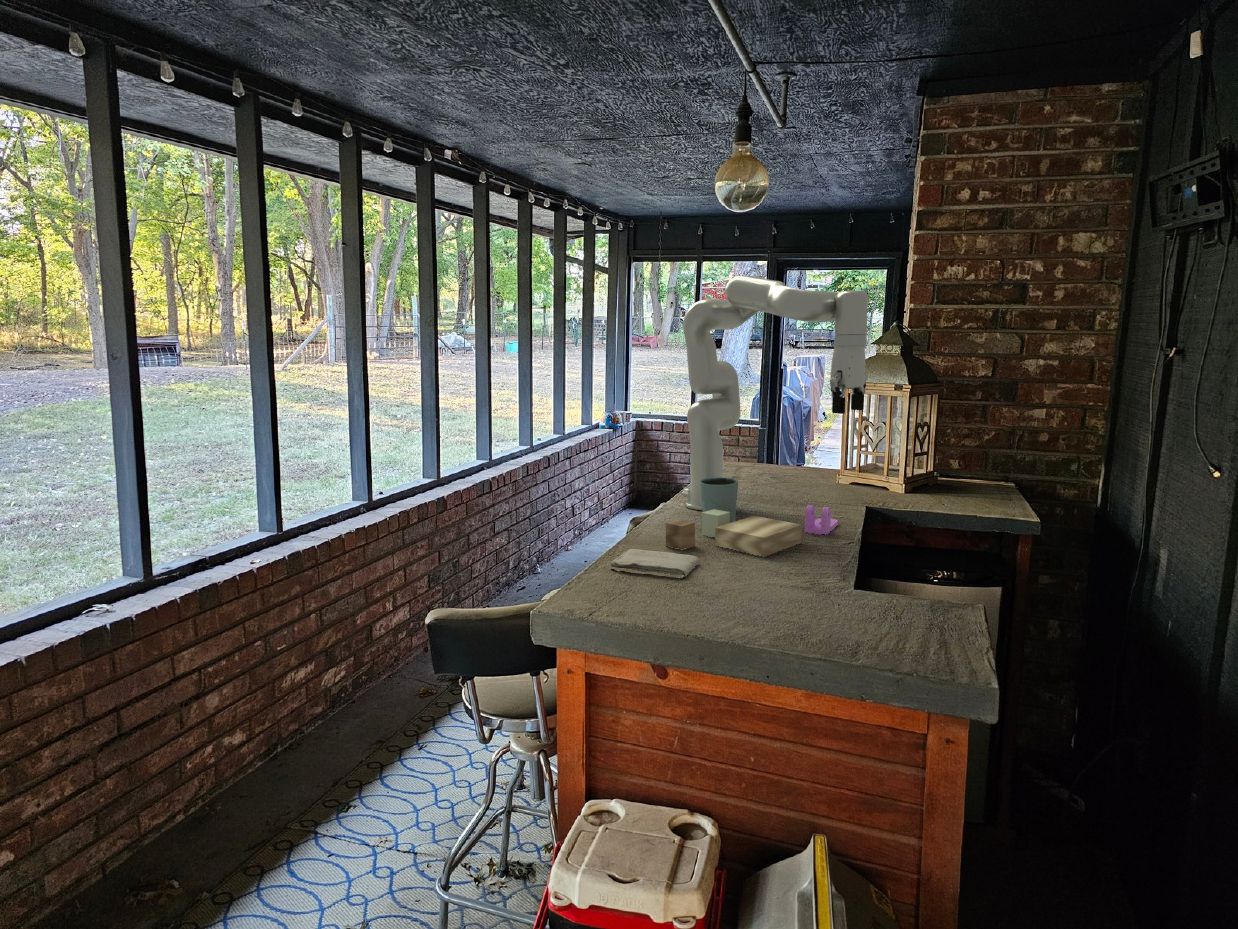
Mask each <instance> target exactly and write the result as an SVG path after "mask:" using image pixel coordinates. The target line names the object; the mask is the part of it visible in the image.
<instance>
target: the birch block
mask: <svg viewBox="0 0 1238 929" xmlns="http://www.w3.org/2000/svg"><path fill="white" fill-rule="evenodd" d="M802 531H803V530H802V524H800V523H795V522H789V521H784V520H779V519H773V518H769V517H768V518H767V517H762V516H759V515H758V516H757V515H751V516H749V517H748V516H747V517H745V518H741V519H739V520H735V522H732V523H729V524H725V525H722V526H719V527H715V538H714V539H715V540H714V542H715V544H714V545H716V546H715V547H718V546H719V547H718V548H722V547H723V549H726V548H729V549H728V550H731V549H733V550H732V551H735V550H736V552H739V551H743V552H742V553H744V552H746V553H745V554H748V553H749V554H748V555H752V554H753V555H752V556H757V555H759V556H758V557H761V556H762V558H765V557H768V556H771V555H773V554H776V553H779V552H781V551H784V550H787V549H789V548H792V547H794V546H797V545H799V544H801V543H802ZM796 544H797V545H796ZM783 549H784V550H783ZM778 551H779V552H778ZM767 555H768V556H767Z"/></svg>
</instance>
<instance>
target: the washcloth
mask: <svg viewBox="0 0 1238 929" xmlns="http://www.w3.org/2000/svg"><path fill="white" fill-rule="evenodd" d="M609 563H610V566H609V568H610V567H615V568H626V569H632V570H637V571H641V572H657V573H664V574H670V575H684V576H686V577H688V576H689V574H690V572H691V571H692V570H691V569H692V568H694V569H695V568H696V567H697V566H698V565H699V564H700V558H699V557H697V556H696V555H690V554H682V553H681V554H680V553H676V552H671V551H668V552H667V551H658V550H647V549H639V548H637V549H636V548H629V549H628V550H624V551H623V553H622V554H620V555H619V556H618V557H616V558H614V559H613V560H612V561H610V562H609ZM696 565H697V566H696ZM695 566H696V567H695ZM690 570H691V571H690ZM687 575H688V576H687Z"/></svg>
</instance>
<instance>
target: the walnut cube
mask: <svg viewBox="0 0 1238 929" xmlns="http://www.w3.org/2000/svg"><path fill="white" fill-rule="evenodd" d="M694 545H695V546H696V522H695V521H690V520H685V519H681V518H678V519H675V520H672V521H668V522H665V547H666V546H670V547H673V548H679V549H684V548H688V549H690V548H689V547H691V548H693V547H692V546H694ZM695 546H694V547H695ZM673 548H672V549H673Z"/></svg>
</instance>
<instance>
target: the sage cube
mask: <svg viewBox="0 0 1238 929" xmlns="http://www.w3.org/2000/svg"><path fill="white" fill-rule="evenodd" d="M702 512H703V511H702ZM702 512H701V535H702V536H703V535H705V536H704V537H707V536H708V538H712V537H715V527H719V526H722V525H725V524H729V523H730V512H726V511H721V510H716V509H713V510H710V511H706V512H703V513H702Z"/></svg>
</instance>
